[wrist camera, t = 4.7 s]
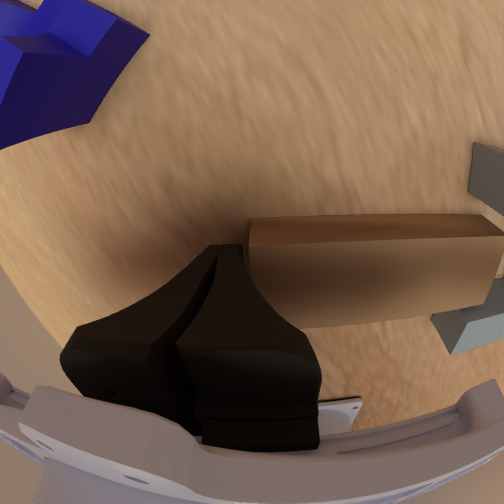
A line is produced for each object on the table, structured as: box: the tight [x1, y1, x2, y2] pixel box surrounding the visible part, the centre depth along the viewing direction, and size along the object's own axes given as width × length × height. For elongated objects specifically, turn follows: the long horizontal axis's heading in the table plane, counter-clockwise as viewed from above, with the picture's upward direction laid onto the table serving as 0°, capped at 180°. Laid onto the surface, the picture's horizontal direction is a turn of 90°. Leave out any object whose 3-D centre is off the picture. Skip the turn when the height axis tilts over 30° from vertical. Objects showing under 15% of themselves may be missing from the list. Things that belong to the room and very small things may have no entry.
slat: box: [248, 214, 504, 329], centre depth 11 cm, size 4×12×2 cm, turn 94°
